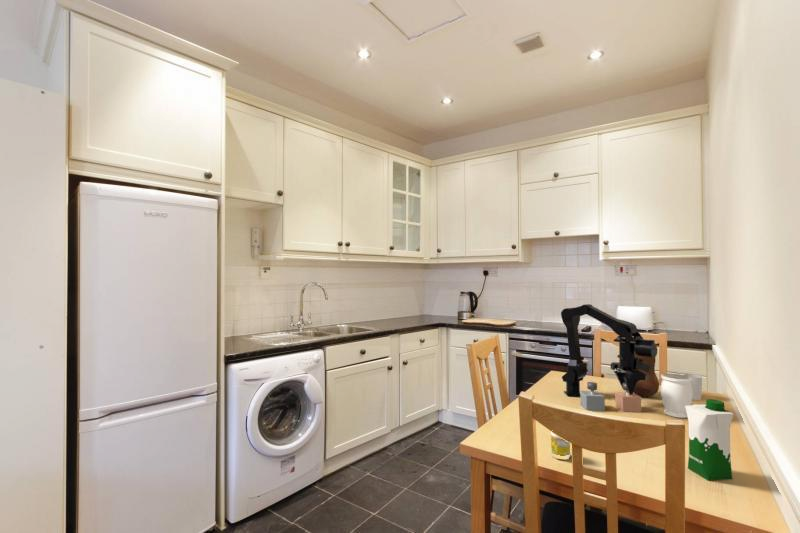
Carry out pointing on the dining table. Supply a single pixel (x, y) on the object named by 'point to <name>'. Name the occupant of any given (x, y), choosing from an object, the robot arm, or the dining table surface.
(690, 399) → the jar
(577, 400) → the dining table surface
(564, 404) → the dining table surface
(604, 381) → the dining table surface
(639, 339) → the robot arm
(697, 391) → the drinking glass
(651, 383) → the butternut squash
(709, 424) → the milk carton
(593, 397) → the slate bottle
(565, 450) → the supplement bottle
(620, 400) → the pink block with hole
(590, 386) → the slate pump
